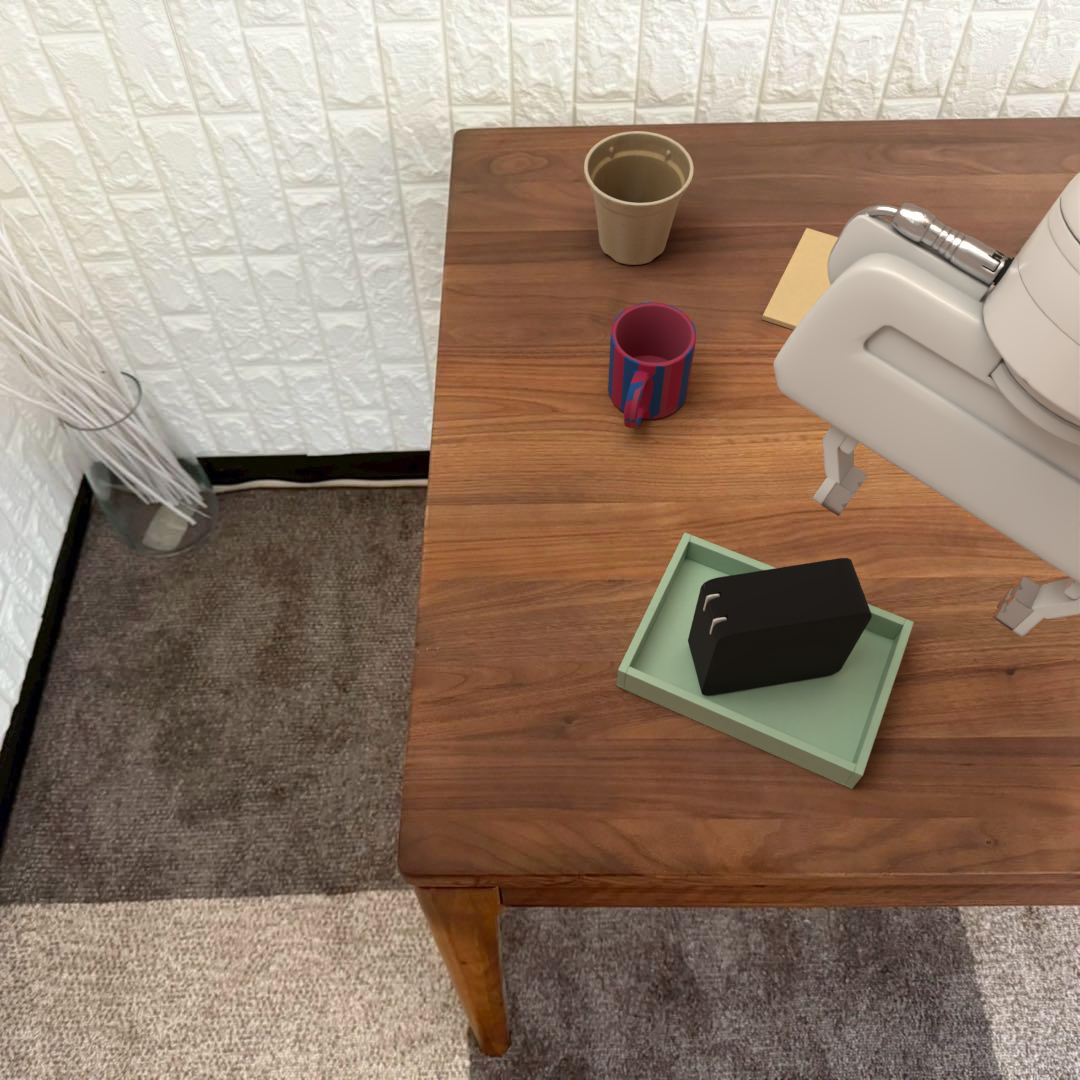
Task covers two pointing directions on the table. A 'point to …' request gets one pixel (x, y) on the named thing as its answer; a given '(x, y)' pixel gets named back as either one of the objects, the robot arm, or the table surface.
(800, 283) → the cork mat
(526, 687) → the table surface
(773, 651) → the electronic device
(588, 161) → the flower pot
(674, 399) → the mug
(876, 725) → the tray
